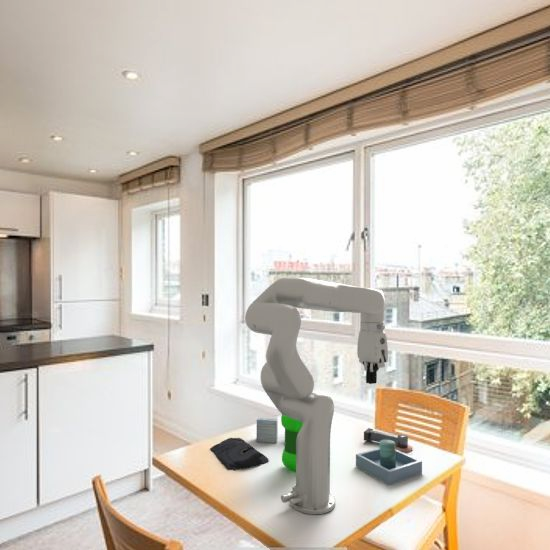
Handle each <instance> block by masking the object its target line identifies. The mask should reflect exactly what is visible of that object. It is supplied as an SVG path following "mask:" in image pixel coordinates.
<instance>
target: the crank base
mask: <svg viewBox="0 0 550 550" xmlns="http://www.w3.org/2000/svg"><path fill="white" fill-rule="evenodd" d="M395 449H396V450H398V451H401V452H403V453H410V452H409V451H411V452H412V451H413V450H412V449H413V446H412V445H410V444H408V448H400V447H398V446H395Z"/></svg>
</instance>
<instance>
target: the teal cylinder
mask: <svg viewBox="0 0 550 550" xmlns="http://www.w3.org/2000/svg"><path fill="white" fill-rule="evenodd" d="M379 448H380V465H381V466H383V467H385V468H386V469H388V470H390V469H393V468H396V453H395V442H394V441H392V440H381V441H380V442H379Z"/></svg>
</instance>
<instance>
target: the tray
mask: <svg viewBox="0 0 550 550" xmlns="http://www.w3.org/2000/svg"><path fill="white" fill-rule="evenodd" d="M395 453H396V468H393V469H390V470H388V469H386V468H385V467H383V466H381V465H380V447H377V448H374V449H370V450H367V451H364V452H359V453H356V454H355V467H356V468H358V469H360V470H362V471H363V472H365V473H367V474H369V475H371V476H372V477H374V478H376V479H377V480H379V481H381V482H383V483H384V484H386V485H389V486H390V485H393V484H395V483H398V482H402V481H405V480H408V479H411V478H414V477H416V476H419V475H422V474H423V461H422V460H420V459H418V458H417V457H416V458H415V457H414V456H412V455H409V454H408V453H406V452H401V451H398V450H396V449H395Z"/></svg>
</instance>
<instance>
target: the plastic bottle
mask: <svg viewBox="0 0 550 550" xmlns="http://www.w3.org/2000/svg"><path fill="white" fill-rule="evenodd" d="M280 419H281V420H280V423H281V426H282V427H283V428H284V449H283V451H282V455H281V462H282V464H283V466H284V467H286V469H288V471H290V472H291V473H296V439H297V435H298V433H299V431H300V429H301V428H302V426H303V423H302V422H301V421H298V420H296V419H293V418H290V417H287V416H285V415H283V414H282V413H281V416H280Z"/></svg>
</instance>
